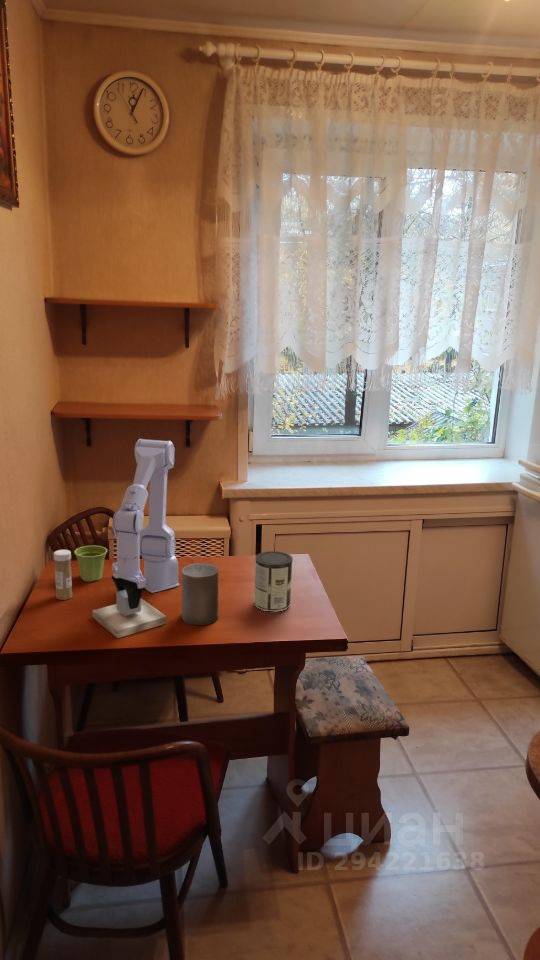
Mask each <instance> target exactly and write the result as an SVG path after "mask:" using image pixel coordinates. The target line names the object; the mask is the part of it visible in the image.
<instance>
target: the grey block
mask: <svg viewBox="0 0 540 960" xmlns="http://www.w3.org/2000/svg"><path fill="white" fill-rule="evenodd" d="M115 593H116V594H115V595H116V604H117V610H118V611H119V612H121V613H122V614H123V615H124V616H127V615H130V614H134V613H137V612H141V599H142V597H141V598H140V602H139V606H138V608H134V609H130V607H129V602H128V596H127V592H126V590H121V591H117V590H116V591H115Z"/></svg>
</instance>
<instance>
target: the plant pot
mask: <svg viewBox="0 0 540 960" xmlns="http://www.w3.org/2000/svg"><path fill="white" fill-rule="evenodd" d="M73 552H74V555H75V556H76V559H77V563H78V569H79V575H80V579H82V581H83V582H90V583H91V582H94V581H99V580H101V579H102V578H103V574H104V573H103V571H104V565H105V564H104V563H105V558H106V554H107V553H108V549H107V548H106V547H104V546H102V545H85V546H80V547H78V548H76V549H74V551H73Z"/></svg>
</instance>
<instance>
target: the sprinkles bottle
mask: <svg viewBox="0 0 540 960" xmlns="http://www.w3.org/2000/svg"><path fill="white" fill-rule="evenodd" d="M71 559H72V552H71V550H68V549H58V550H55V551H54V552H53V560H54V578H55V579H54V580H55V581H54V582H55V591H56V592H55V593H56V594H55V598H56V599H58V600H61V601H63V600H64V601H66V600H69V599H71V598H72V597H73V596H74V595H73V588H72V587H73V582H72V580H73V579H72V578H73V577H72V567H71V565H72V564H71V561H72V560H71Z"/></svg>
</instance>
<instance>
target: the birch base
mask: <svg viewBox="0 0 540 960" xmlns="http://www.w3.org/2000/svg"><path fill="white" fill-rule="evenodd" d="M92 618H93V619H94V620H95V621H97V622H98V624H100V625H101V626H102V627H104V628H105V629H106V630H107V631H108V632H110V633H111V634H112V635H113V636H114V637H115V638H117V639H121V638H124V637H127V636H130V635H133V634H136V633H141V632H144V631H146V630H149V629H152V628H153V629H154V628H157V627H159V626H160V627H161V626H163V625H166V624H167V615H165V614H164V613H162V612H161V611H160V610H158V609H157V608H155V607H154V606H153V605H151V604H150V603H149V602H147V601H146V600H144V599H143V598H141V612H137V613H134V614H130V615H127V616H124V615H123V614H122V613H121V612H119V611H118V610H117V603H116V604H115V603H114V604H111V605H108V606H107V605H106V606H103V607H100V608H99V607H98V608H97V609H92Z"/></svg>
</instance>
